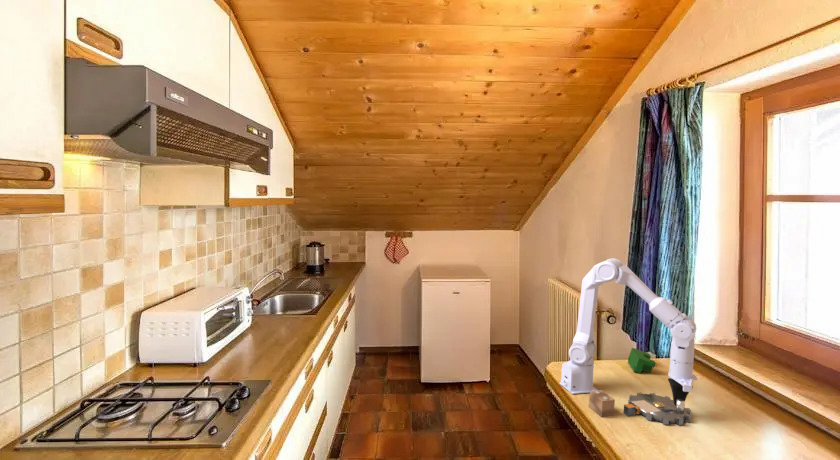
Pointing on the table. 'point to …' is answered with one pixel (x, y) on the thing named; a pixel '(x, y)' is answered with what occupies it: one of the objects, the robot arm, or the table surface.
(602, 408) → the link block
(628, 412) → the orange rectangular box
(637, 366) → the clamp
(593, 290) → the robot arm
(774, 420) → the table surface
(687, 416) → the sprocket disc
